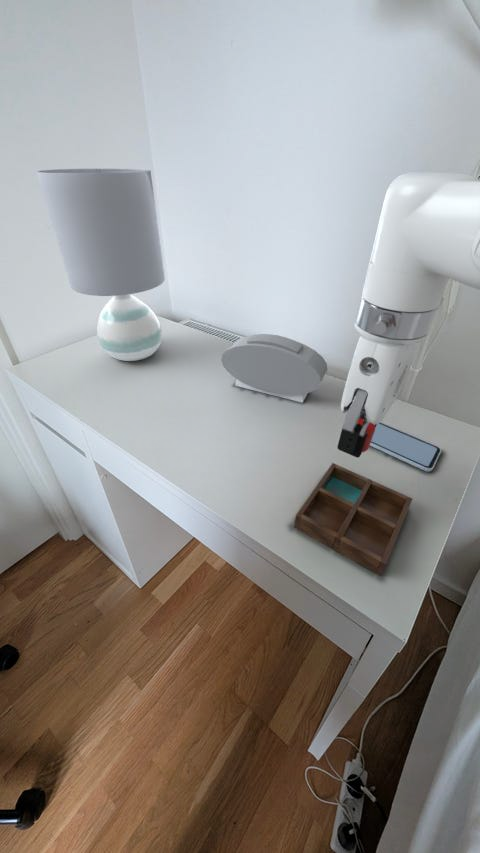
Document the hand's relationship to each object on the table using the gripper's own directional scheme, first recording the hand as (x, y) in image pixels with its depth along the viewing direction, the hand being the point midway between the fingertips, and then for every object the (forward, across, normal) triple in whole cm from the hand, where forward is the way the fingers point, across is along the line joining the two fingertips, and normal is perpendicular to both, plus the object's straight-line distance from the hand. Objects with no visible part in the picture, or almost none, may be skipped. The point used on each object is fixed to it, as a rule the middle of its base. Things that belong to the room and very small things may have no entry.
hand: (355, 441), depth 48 cm
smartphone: (+12, +18, -4) cm, 22 cm away
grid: (+12, -3, -3) cm, 13 cm away
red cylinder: (0, 0, 0) cm, 0 cm away
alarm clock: (+12, +21, +26) cm, 35 cm away
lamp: (+12, +14, +66) cm, 68 cm away
